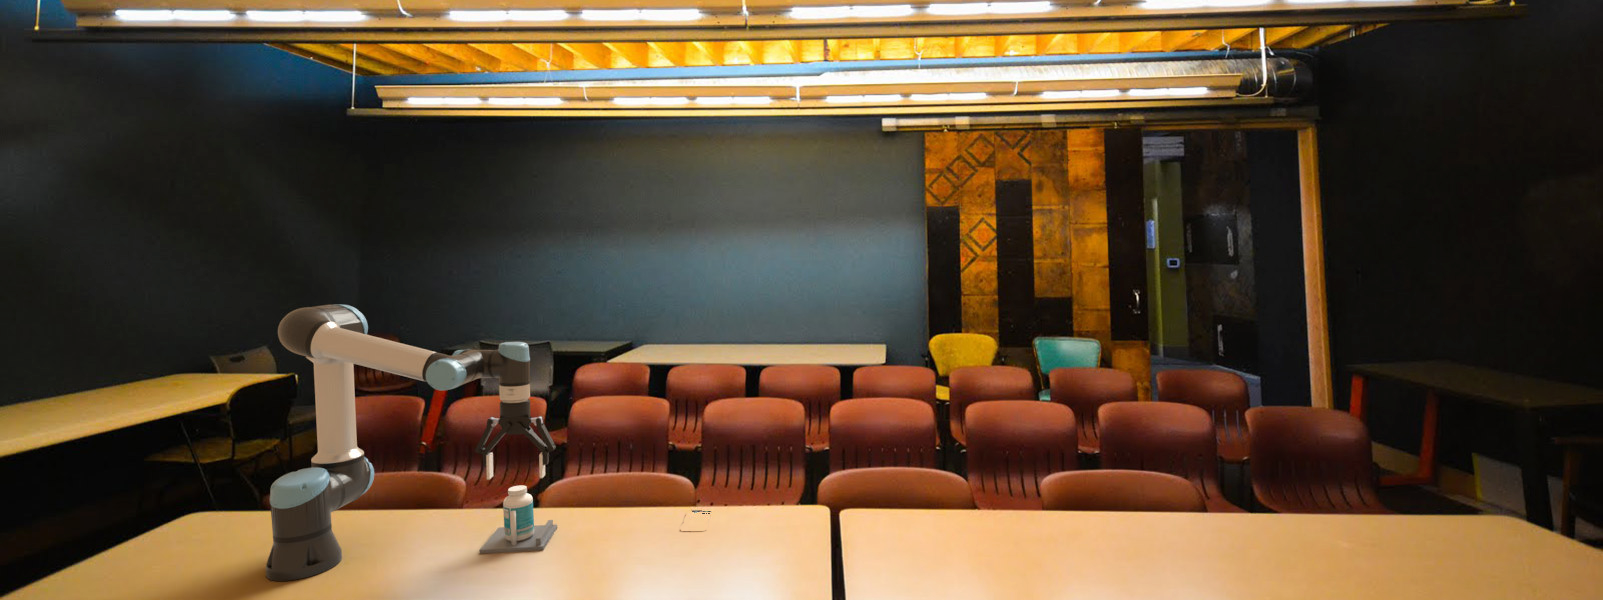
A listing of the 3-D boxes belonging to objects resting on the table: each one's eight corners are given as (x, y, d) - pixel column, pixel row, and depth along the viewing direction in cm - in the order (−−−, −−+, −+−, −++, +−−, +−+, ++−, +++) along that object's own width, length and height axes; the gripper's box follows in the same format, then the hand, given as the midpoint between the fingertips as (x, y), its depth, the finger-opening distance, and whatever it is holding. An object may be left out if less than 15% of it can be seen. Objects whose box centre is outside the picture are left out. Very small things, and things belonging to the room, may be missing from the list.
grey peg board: (479, 553, 169) (478, 516, 168) (498, 530, 182) (497, 496, 182) (543, 550, 170) (542, 513, 170) (557, 527, 184) (556, 493, 183)
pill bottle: (539, 531, 180) (537, 483, 179) (525, 543, 172) (523, 493, 171) (514, 530, 180) (512, 483, 179) (498, 542, 173) (496, 492, 172)
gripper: (460, 403, 169) (462, 483, 170) (559, 402, 171) (560, 480, 173) (471, 397, 176) (473, 473, 177) (566, 396, 179) (567, 471, 180)
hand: (516, 477), depth 175 cm, fingers open, 13 cm apart
